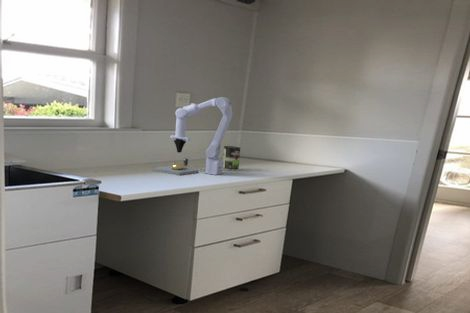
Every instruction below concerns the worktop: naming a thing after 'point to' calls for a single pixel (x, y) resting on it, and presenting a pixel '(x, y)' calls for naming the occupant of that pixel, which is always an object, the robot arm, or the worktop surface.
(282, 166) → the worktop surface
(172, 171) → the grey board
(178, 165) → the spiked mace toy
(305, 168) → the worktop surface
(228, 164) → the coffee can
